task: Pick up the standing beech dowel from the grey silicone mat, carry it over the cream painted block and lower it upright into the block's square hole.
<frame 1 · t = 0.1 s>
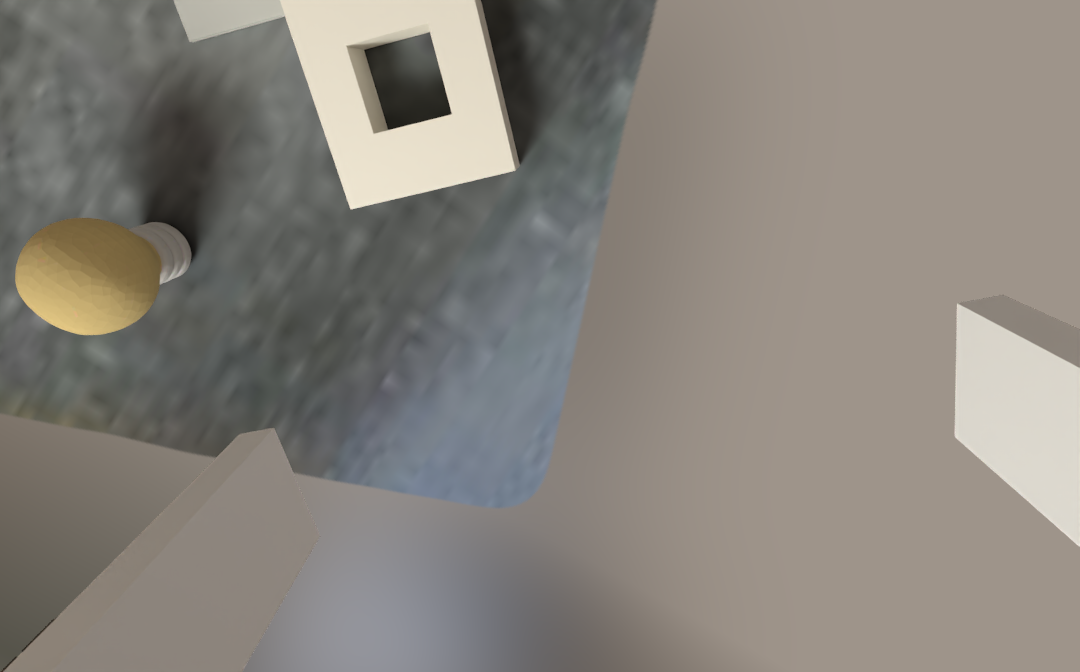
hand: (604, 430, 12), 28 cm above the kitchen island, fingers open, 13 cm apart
hole block: (413, 81, 36), on the kitchen island
light bulb: (170, 247, 40), on the kitchen island
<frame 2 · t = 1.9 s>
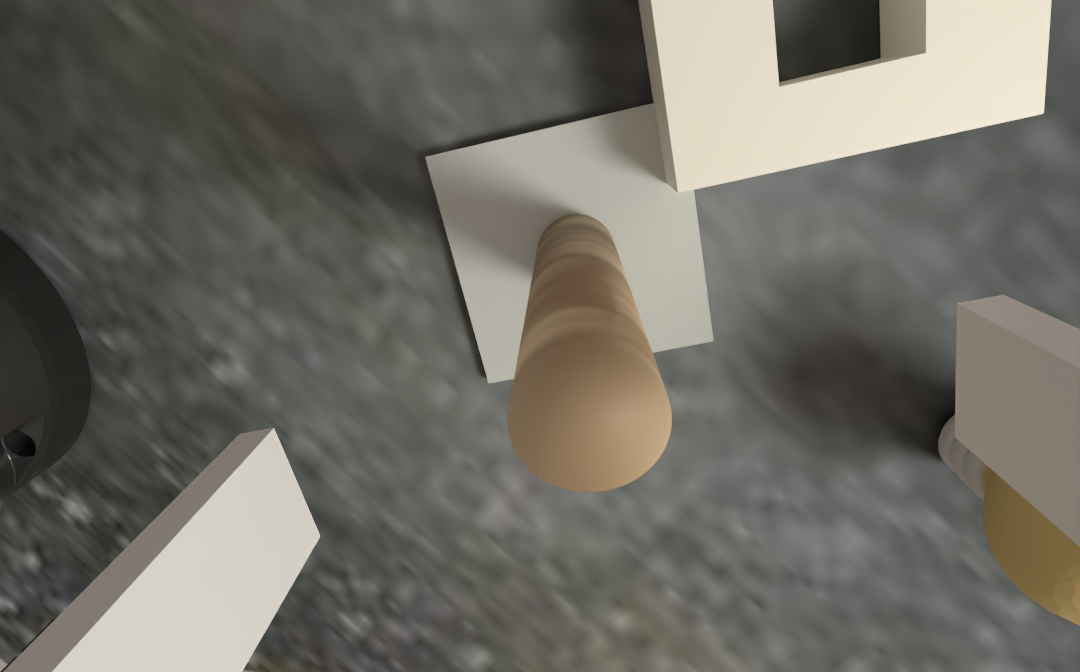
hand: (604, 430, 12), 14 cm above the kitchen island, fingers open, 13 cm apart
hole block: (812, 5, 22), on the kitchen island
dowel: (576, 253, 25), resting on mat
light bulb: (970, 429, 28), on the kitchen island
mat: (575, 251, 25), on the kitchen island
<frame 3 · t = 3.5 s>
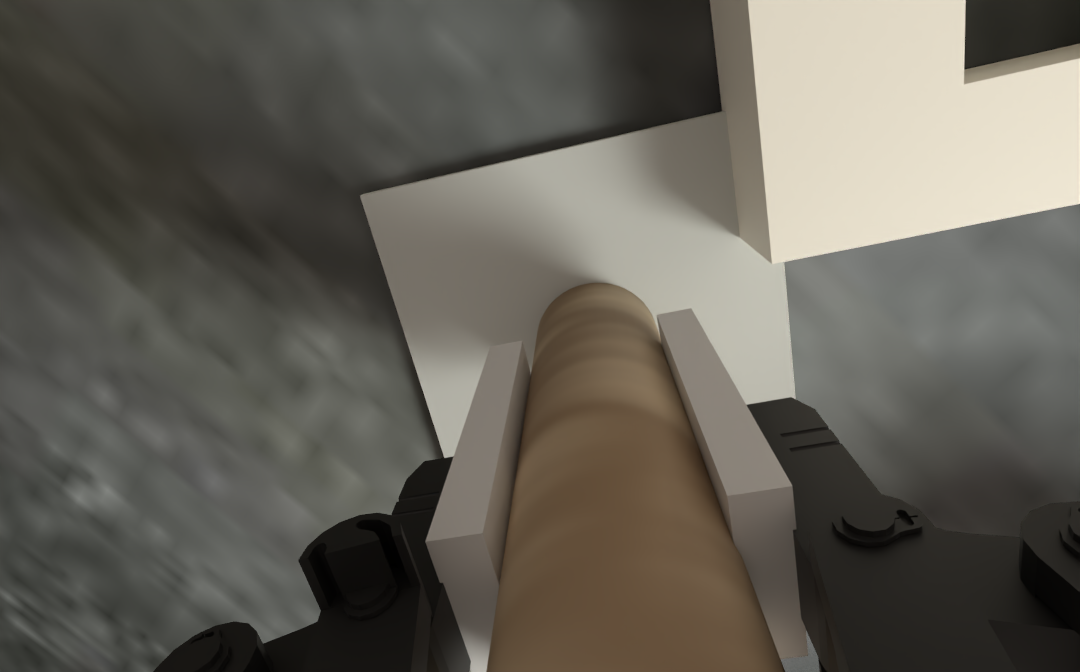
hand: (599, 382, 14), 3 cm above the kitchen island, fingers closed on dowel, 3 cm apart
dowel: (596, 340, 16), resting on mat, touching gripper
mat: (595, 335, 17), on the kitchen island
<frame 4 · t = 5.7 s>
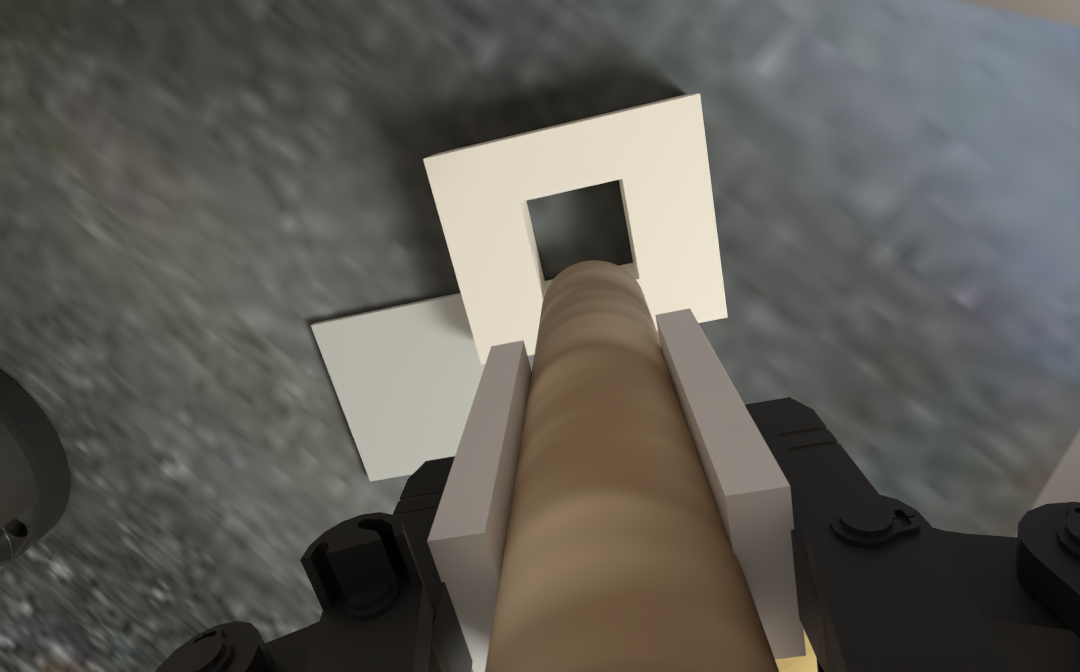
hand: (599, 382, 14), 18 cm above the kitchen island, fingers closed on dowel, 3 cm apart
hole block: (579, 228, 30), on the kitchen island
dowel: (593, 310, 19), point 12 cm above the kitchen island, touching gripper
light bulb: (741, 515, 36), on the kitchen island
mat: (428, 388, 34), on the kitchen island
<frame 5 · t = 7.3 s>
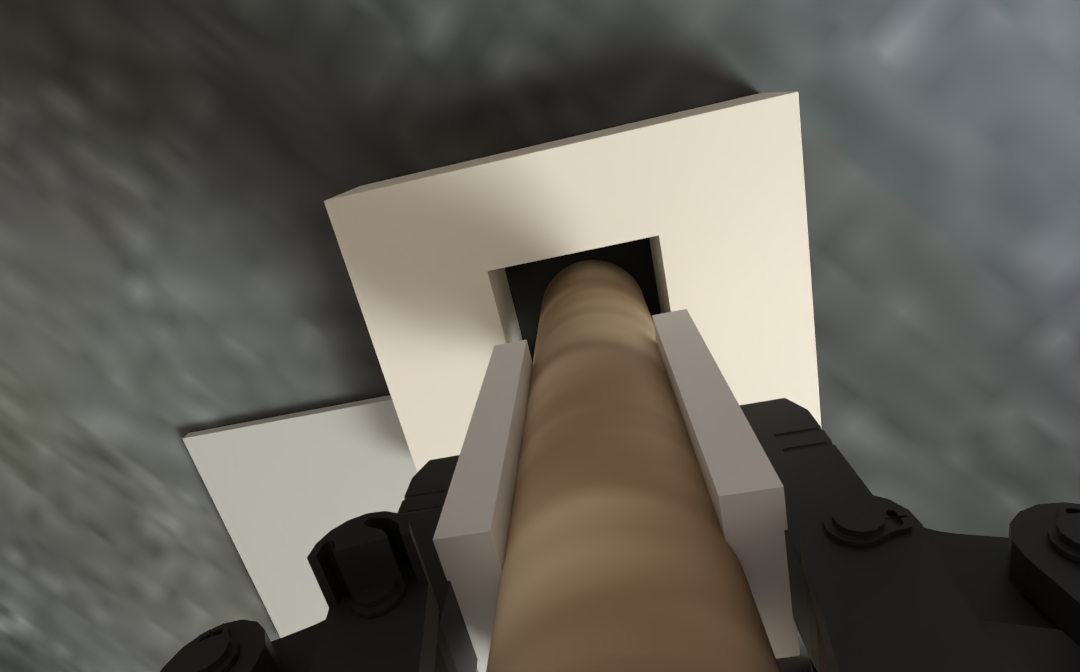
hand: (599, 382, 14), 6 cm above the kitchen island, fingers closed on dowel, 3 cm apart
hole block: (585, 300, 20), on the kitchen island
dowel: (592, 310, 19), point 1 cm above the kitchen island, touching gripper
mat: (362, 523, 23), on the kitchen island
when the fingers open (5 cm above the kitchen island, at t = 7.8 s): dowel stays where it is, resting in hole block.
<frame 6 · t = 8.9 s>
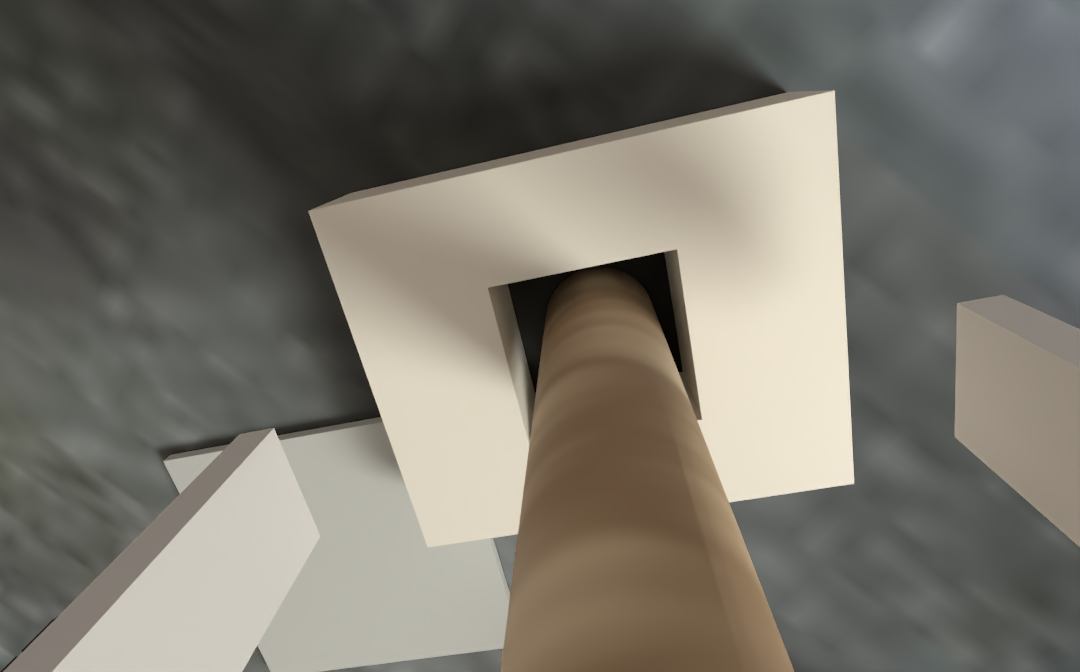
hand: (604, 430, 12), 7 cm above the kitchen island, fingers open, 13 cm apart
hole block: (594, 316, 18), on the kitchen island
dowel: (599, 318, 18), resting in hole block
mat: (355, 550, 22), on the kitchen island
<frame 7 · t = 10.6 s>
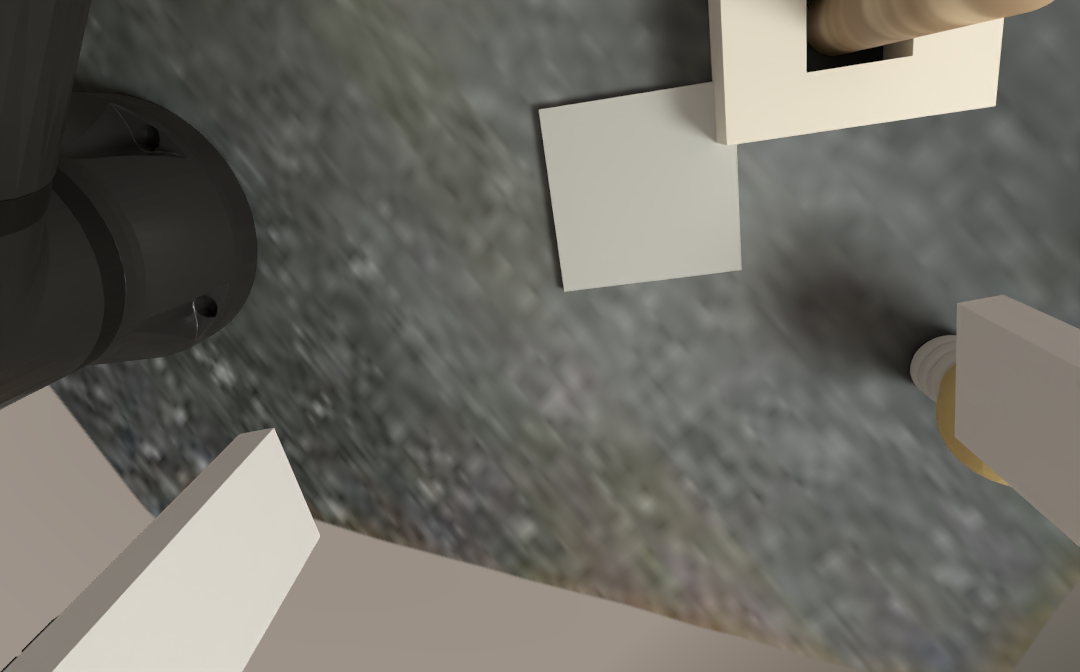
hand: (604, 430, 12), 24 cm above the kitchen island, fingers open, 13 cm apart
hole block: (835, 18, 30), on the kitchen island
dowel: (837, 20, 30), resting in hole block
light bulb: (937, 360, 35), on the kitchen island
mat: (642, 191, 33), on the kitchen island
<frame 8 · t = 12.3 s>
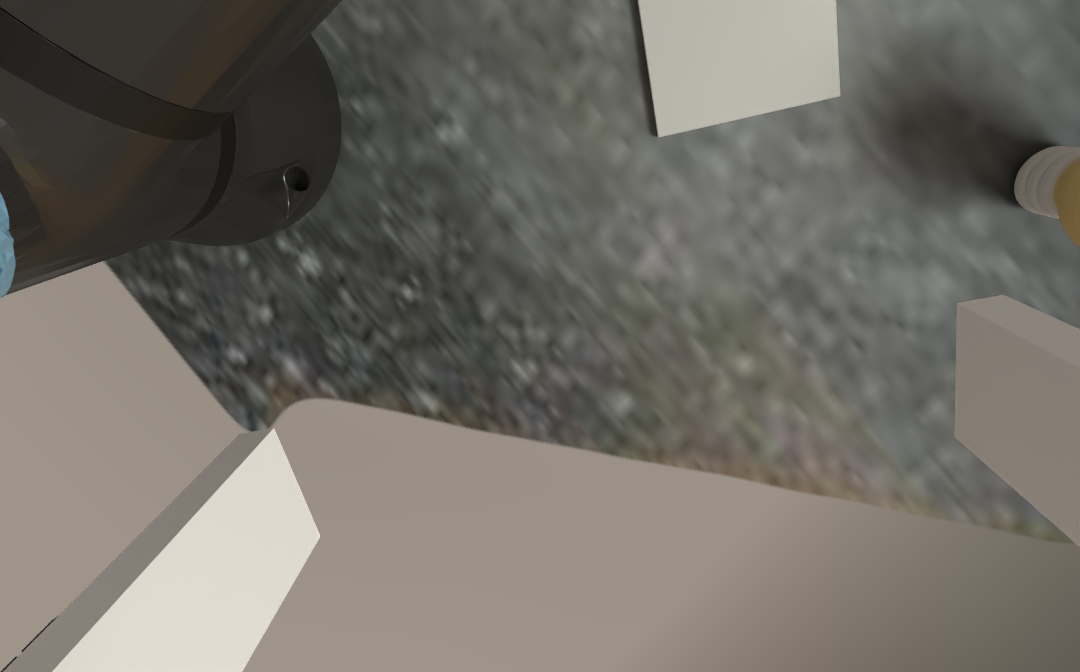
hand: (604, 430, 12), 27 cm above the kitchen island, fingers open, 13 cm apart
light bulb: (1039, 178, 35), on the kitchen island
mat: (736, 20, 33), on the kitchen island
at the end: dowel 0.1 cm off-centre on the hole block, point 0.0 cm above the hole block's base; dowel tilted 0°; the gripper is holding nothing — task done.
